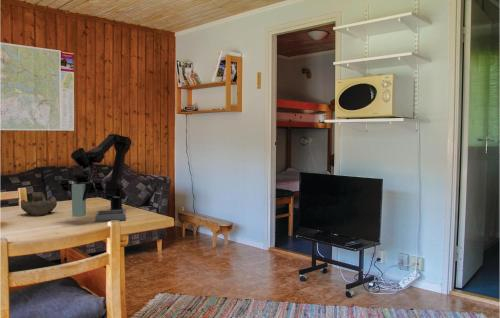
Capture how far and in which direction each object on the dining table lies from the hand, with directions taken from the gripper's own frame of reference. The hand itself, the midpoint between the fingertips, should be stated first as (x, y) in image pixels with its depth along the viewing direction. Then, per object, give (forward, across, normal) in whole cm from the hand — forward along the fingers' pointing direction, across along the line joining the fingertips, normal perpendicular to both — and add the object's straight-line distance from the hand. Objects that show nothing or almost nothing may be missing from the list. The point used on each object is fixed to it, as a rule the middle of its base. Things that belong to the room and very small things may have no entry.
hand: (77, 200), depth 186 cm
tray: (-1, +10, +16) cm, 20 cm away
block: (+4, 0, +6) cm, 7 cm away
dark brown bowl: (-9, -28, +25) cm, 39 cm away
